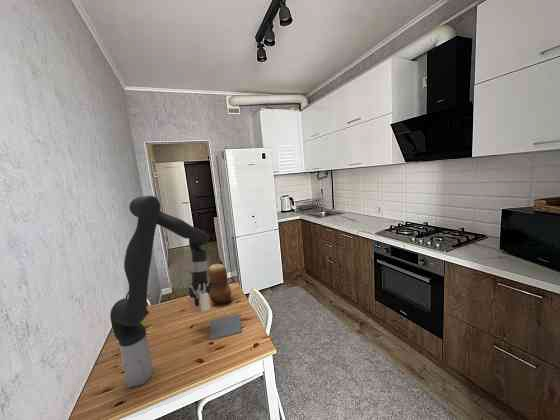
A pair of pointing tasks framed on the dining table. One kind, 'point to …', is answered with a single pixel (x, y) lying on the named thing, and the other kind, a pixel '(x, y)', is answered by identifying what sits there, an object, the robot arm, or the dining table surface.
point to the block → (202, 303)
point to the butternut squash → (219, 284)
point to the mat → (225, 327)
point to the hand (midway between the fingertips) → (200, 304)
